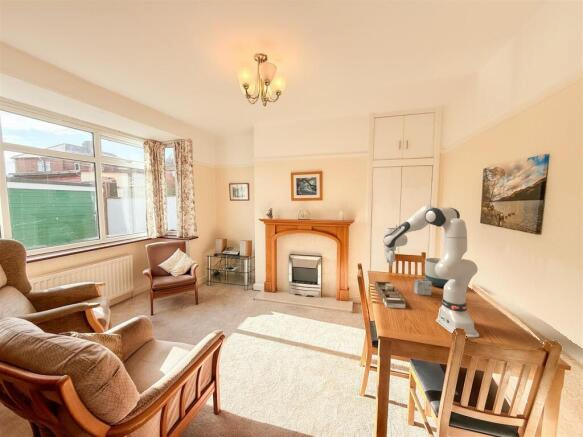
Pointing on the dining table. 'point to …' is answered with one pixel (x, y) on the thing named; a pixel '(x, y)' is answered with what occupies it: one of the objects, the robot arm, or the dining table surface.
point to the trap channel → (389, 295)
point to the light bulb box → (422, 286)
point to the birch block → (389, 287)
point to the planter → (433, 272)
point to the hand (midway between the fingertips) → (389, 264)
